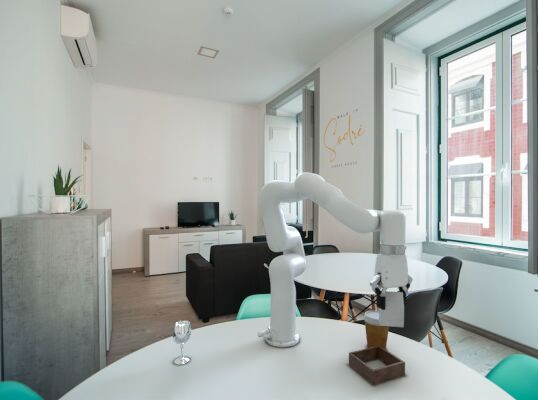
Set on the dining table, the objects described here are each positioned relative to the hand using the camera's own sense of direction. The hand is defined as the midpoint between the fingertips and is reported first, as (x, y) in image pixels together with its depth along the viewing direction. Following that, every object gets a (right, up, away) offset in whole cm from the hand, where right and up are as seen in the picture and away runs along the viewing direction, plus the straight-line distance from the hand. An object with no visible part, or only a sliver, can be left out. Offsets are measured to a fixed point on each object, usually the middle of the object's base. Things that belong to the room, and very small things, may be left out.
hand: (391, 306), depth 92 cm
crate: (-5, -20, 0) cm, 20 cm away
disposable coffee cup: (-1, -20, +14) cm, 25 cm away
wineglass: (-66, -19, +3) cm, 69 cm away
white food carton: (0, -6, 0) cm, 6 cm away
